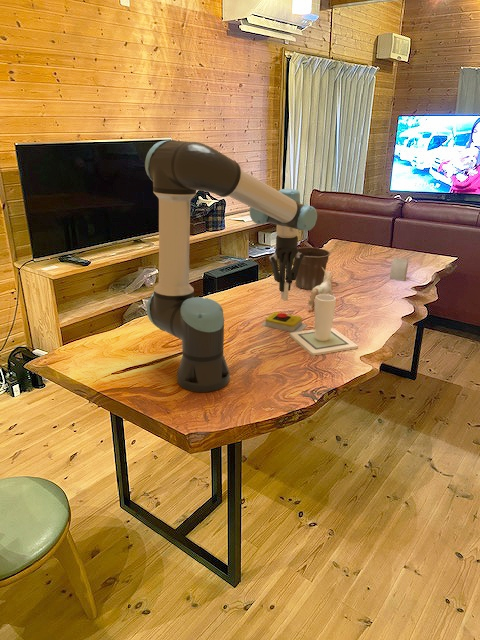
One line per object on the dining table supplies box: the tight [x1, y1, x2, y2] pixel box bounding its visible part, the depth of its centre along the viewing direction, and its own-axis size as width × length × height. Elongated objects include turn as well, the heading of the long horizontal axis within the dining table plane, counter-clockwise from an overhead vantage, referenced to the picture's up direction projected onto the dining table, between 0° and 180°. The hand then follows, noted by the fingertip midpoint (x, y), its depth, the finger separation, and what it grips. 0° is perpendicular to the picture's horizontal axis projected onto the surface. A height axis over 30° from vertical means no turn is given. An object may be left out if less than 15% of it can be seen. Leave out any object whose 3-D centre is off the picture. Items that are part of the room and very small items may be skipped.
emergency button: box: [261, 311, 308, 333], centre depth 179 cm, size 9×4×15 cm
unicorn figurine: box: [307, 267, 334, 308], centre depth 197 cm, size 7×20×13 cm, turn 156°
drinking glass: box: [313, 293, 337, 341], centre depth 164 cm, size 7×7×15 cm
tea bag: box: [389, 257, 409, 282], centre depth 233 cm, size 4×7×10 cm, turn 58°
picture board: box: [288, 327, 359, 357], centre depth 167 cm, size 17×17×1 cm
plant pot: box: [295, 246, 331, 291], centre depth 220 cm, size 16×16×16 cm
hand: (284, 299), depth 178 cm, fingers closed
